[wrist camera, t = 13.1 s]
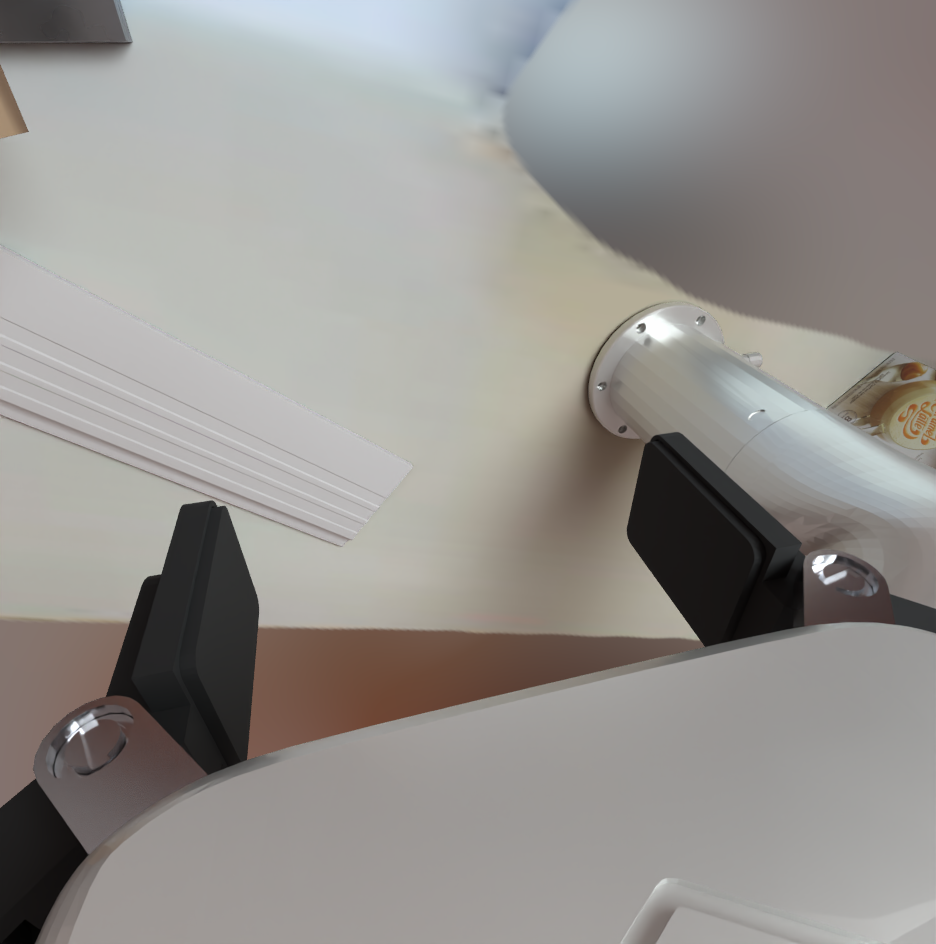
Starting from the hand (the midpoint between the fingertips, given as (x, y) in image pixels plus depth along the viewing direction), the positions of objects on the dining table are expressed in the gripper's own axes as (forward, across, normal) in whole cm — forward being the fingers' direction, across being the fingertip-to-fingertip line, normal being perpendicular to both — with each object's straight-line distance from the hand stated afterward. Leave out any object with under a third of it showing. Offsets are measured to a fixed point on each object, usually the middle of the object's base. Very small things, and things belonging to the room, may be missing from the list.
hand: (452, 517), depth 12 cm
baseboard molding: (+29, +13, +12) cm, 34 cm away
